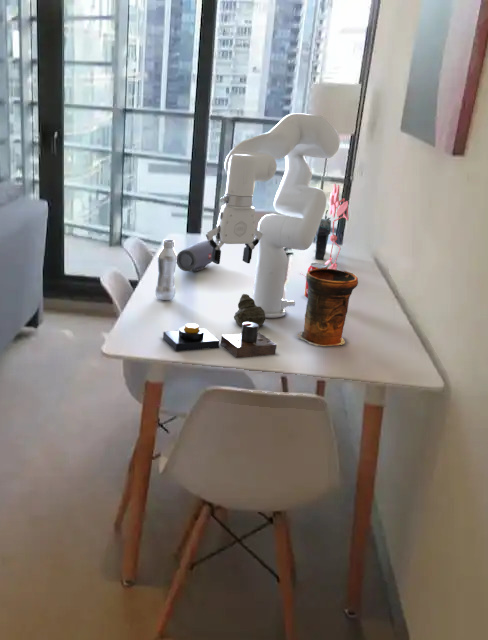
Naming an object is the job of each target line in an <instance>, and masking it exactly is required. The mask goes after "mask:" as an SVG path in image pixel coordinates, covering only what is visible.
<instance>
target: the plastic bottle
mask: <svg viewBox="0 0 488 640" xmlns="http://www.w3.org/2000/svg"><path fill="white" fill-rule="evenodd" d="M174 247H175V240H173V239H163V240H162V247H161V249H160V250H159V252H158V253H157V272H158V273H157V281H156V286H155V297H156V298H157V299H158V300H161V301H171V300H173V299H174V298H175V296H176V286H175V274H176V267H177V255H178V254H177V252H176V250H175V248H174Z"/></svg>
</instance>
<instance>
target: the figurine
mask: <svg viewBox="0 0 488 640" xmlns="http://www.w3.org/2000/svg"><path fill="white" fill-rule="evenodd" d="M329 194H330V195H329V209H328V213H329V216H331V215H332V218H333V221H332V234H331V235H330V237H329V241H330V242H332V245H331V250H330V254H329V259H328V260H327V261H326V262H325V263H324V264H326V265H327V266H328V265H329V264H330V266H328V269H335V270H338V264H337V260H338V257H339V254H340V251H341V247H340V245H339V244H338V243H337V242H336V241H337V240H338V236H337V235H336V234H335V222H336V221H338V220H341V219H342V218H343V219H345V221H348V222H349V220H350V219H349V200H346V198H344V197H343V198H341V199H340V197H339V196H340V185H339V184H336V183H333V187H332V192H331V193H329ZM341 203H342V204H341ZM345 212H346V213H345ZM335 217H336V219H335ZM334 244H335V245H336V246H337V248H339V249H338V252H337V254H336V258H335V260H334V263H333V261H332V260H333V259H334V258H333V257H332V253H333V248H334ZM300 274H301V275H303V276H304V274H303V273H302V272H300Z"/></svg>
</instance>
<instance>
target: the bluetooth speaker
mask: <svg viewBox="0 0 488 640" xmlns="http://www.w3.org/2000/svg"><path fill="white" fill-rule="evenodd" d="M219 250H221V248H220V249H219ZM212 252H213V248H212V247H211V245H210V244H209V243H208V240H204V241H200V242H197V243H194V244H191V245H190V246H187V247H186V248H183V249H181V251H180V252H178V254H177V262H176V266H177V268H178V269H180V270H181V271H184V272H194V273H195V272H199V271H200V270H203V269H205V268H206V267H207V266H208V265H210V264H211V263H214V262H213V261H212Z"/></svg>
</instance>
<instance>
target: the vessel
mask: <svg viewBox="0 0 488 640" xmlns="http://www.w3.org/2000/svg"><path fill="white" fill-rule="evenodd" d="M327 268H328V267H327ZM327 268H321V269H313V270H311V271H308V270H307V272H306V275H305V281H306V280H307V283H308V299H307V302H306V305H305V306H306V307H305V313H304V324H303V331H301V332H300V333H298V334H297V335H296V337H298V338H299V339H300V340H301V341H304V342H306V343H309V345H313V346H315V347H318V346H321V347H333V346H344V345H345V343H346V341H345V339H344V338H343V331H344V326H345V324H346V319H347V314H348V310H349V301H350V298H351V295H352V293H353V291H354V289H356V288H357V287H358V284H359V279H358V276H357V275H356V274H354V273H353V272H351V271H346V270H344V271H343V270H339V269H337V270H335V269H329V268H328V269H327Z"/></svg>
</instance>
